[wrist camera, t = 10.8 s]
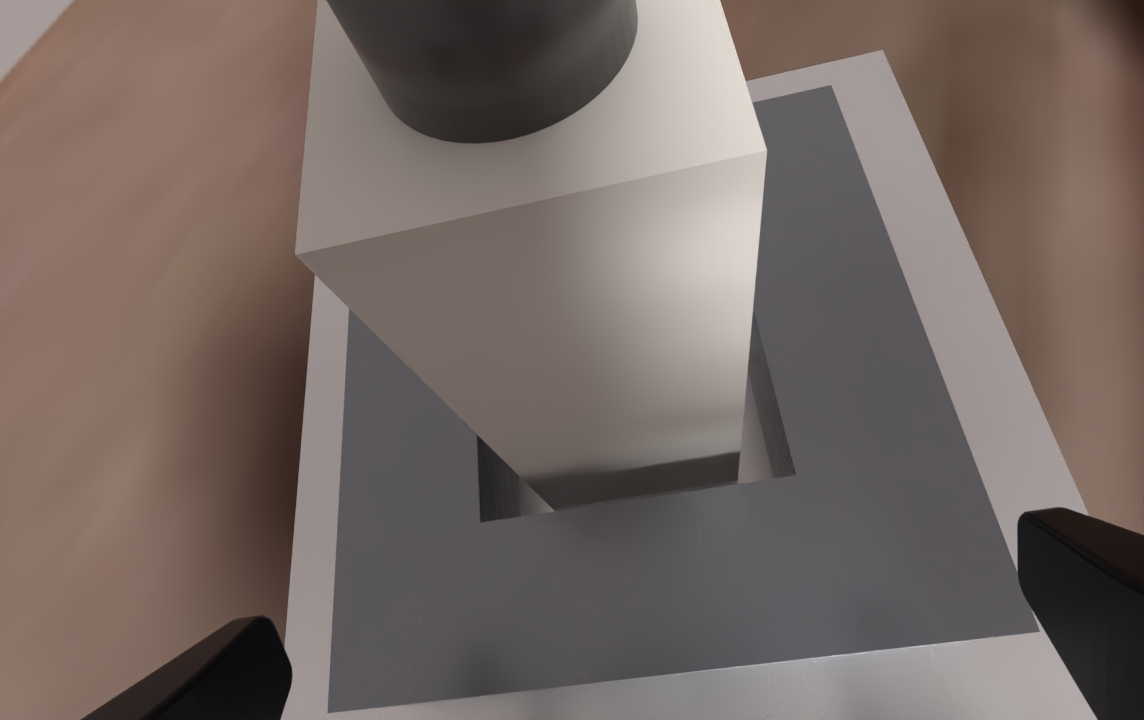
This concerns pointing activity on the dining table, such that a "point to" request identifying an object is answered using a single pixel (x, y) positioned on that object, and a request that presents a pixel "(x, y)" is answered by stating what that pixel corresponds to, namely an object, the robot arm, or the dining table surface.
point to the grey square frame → (712, 492)
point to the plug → (547, 224)
